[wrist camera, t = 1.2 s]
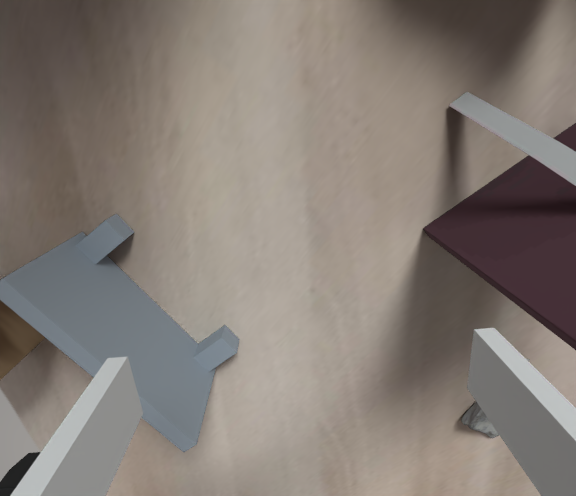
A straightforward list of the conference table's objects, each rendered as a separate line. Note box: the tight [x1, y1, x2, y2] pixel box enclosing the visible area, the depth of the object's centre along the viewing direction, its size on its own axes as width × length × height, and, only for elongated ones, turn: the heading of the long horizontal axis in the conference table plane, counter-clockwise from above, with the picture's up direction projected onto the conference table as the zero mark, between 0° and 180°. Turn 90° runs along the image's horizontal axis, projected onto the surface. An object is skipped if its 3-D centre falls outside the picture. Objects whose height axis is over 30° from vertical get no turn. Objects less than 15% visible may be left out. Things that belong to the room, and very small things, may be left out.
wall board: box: [0, 214, 239, 452], centre depth 33 cm, size 20×6×11 cm, turn 38°
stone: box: [461, 359, 529, 438], centre depth 42 cm, size 6×12×4 cm, turn 159°
